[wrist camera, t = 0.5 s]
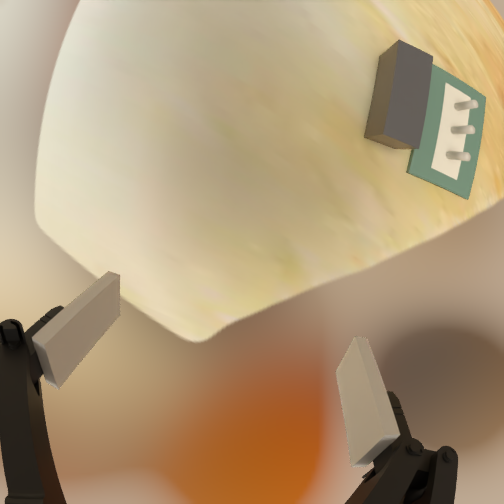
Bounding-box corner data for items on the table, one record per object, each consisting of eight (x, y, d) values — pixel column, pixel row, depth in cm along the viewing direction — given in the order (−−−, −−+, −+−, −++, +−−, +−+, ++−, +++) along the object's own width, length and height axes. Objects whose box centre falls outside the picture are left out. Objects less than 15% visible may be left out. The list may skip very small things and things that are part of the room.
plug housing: (379, 56, 29) (398, 39, 22) (409, 69, 29) (432, 56, 22) (363, 137, 33) (382, 134, 26) (395, 148, 33) (418, 149, 26)
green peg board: (425, 63, 28) (444, 53, 22) (483, 97, 27) (504, 94, 22) (406, 172, 34) (425, 176, 28) (465, 198, 34) (486, 206, 28)
